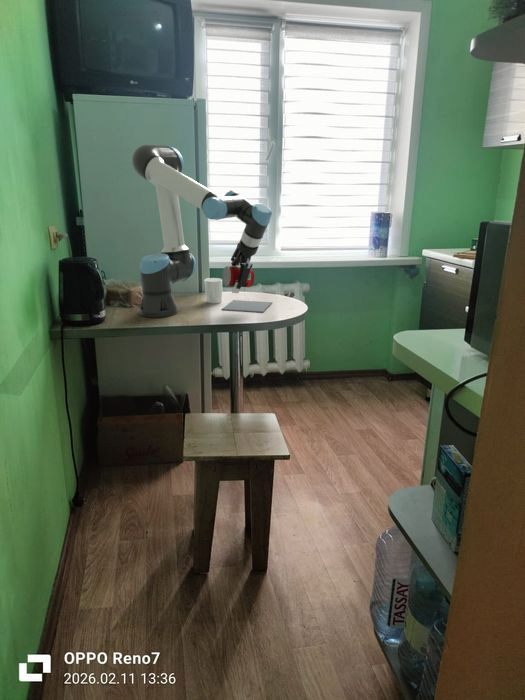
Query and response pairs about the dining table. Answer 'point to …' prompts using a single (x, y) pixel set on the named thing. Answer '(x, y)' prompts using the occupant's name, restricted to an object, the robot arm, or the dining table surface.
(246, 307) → the slate mat
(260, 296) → the dining table surface
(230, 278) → the canned food
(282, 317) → the dining table surface
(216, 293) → the white cup
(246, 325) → the dining table surface
